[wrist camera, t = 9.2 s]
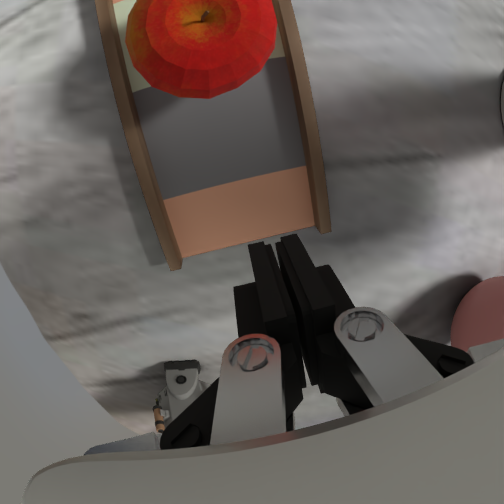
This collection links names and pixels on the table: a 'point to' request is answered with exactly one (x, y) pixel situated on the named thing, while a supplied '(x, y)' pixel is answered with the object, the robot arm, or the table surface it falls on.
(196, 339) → the table surface
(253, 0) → the apple
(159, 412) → the figurine
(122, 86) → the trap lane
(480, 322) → the balloon
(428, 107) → the table surface
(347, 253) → the table surface
